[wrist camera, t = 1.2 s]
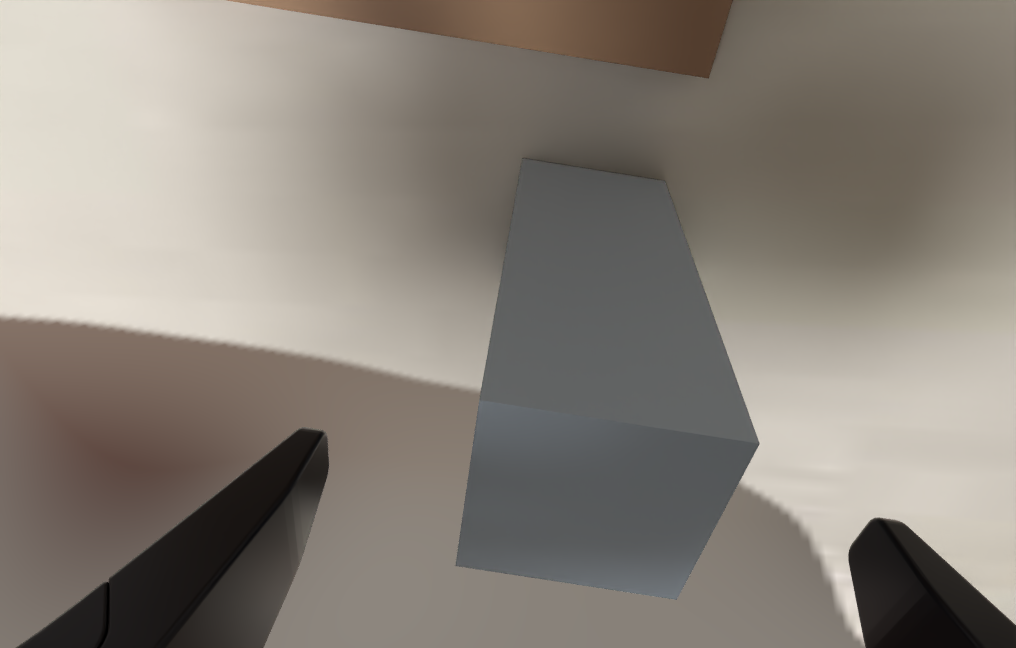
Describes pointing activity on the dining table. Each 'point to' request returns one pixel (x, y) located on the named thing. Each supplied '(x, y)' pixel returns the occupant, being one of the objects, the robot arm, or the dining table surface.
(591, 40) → the socket block
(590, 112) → the dining table surface
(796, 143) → the dining table surface
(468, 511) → the peg
